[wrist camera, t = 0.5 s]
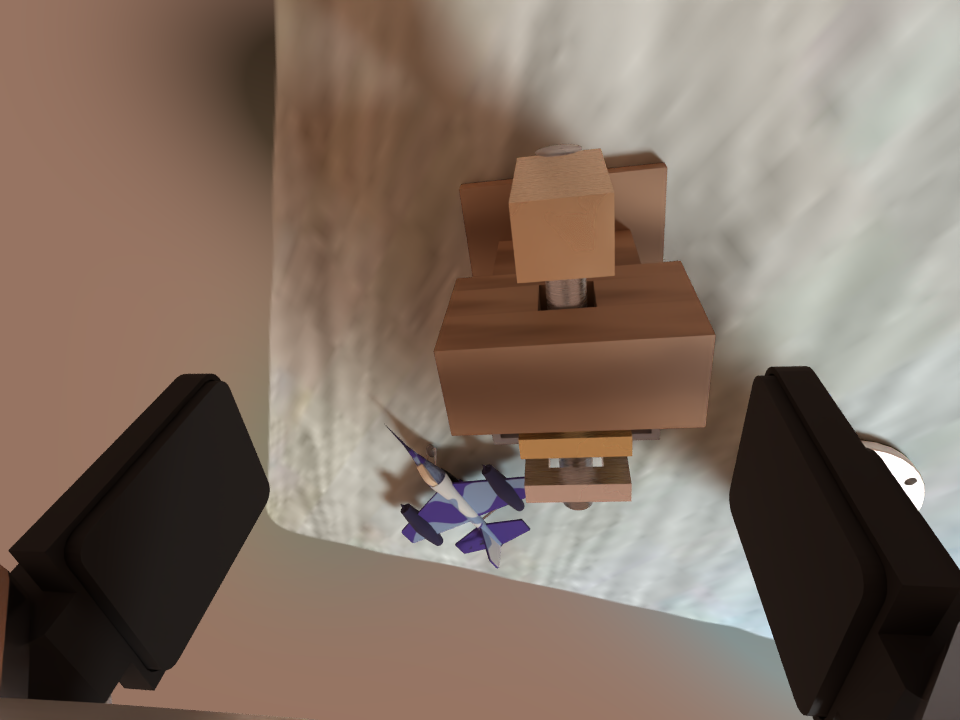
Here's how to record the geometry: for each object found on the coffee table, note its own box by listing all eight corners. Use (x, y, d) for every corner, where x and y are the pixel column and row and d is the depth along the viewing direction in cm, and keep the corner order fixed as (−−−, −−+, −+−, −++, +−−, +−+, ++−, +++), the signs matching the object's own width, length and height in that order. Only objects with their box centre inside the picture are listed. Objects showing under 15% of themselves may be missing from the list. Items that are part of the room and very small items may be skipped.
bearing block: (658, 293, 37) (705, 427, 26) (480, 306, 39) (451, 435, 28) (664, 162, 32) (724, 256, 21) (461, 184, 34) (418, 280, 23)
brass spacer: (620, 389, 35) (631, 456, 30) (524, 393, 36) (520, 459, 31) (620, 371, 34) (632, 436, 29) (522, 376, 35) (518, 440, 30)
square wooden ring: (620, 431, 37) (631, 501, 32) (529, 434, 38) (526, 502, 33) (620, 415, 36) (631, 484, 31) (527, 418, 37) (524, 485, 32)
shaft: (604, 485, 36) (615, 589, 30) (550, 486, 37) (550, 588, 31) (598, 139, 24) (614, 192, 18) (518, 149, 25) (508, 203, 19)
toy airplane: (390, 401, 45) (379, 431, 42) (557, 442, 45) (558, 474, 42) (371, 506, 52) (360, 538, 49) (515, 540, 53) (513, 573, 50)
